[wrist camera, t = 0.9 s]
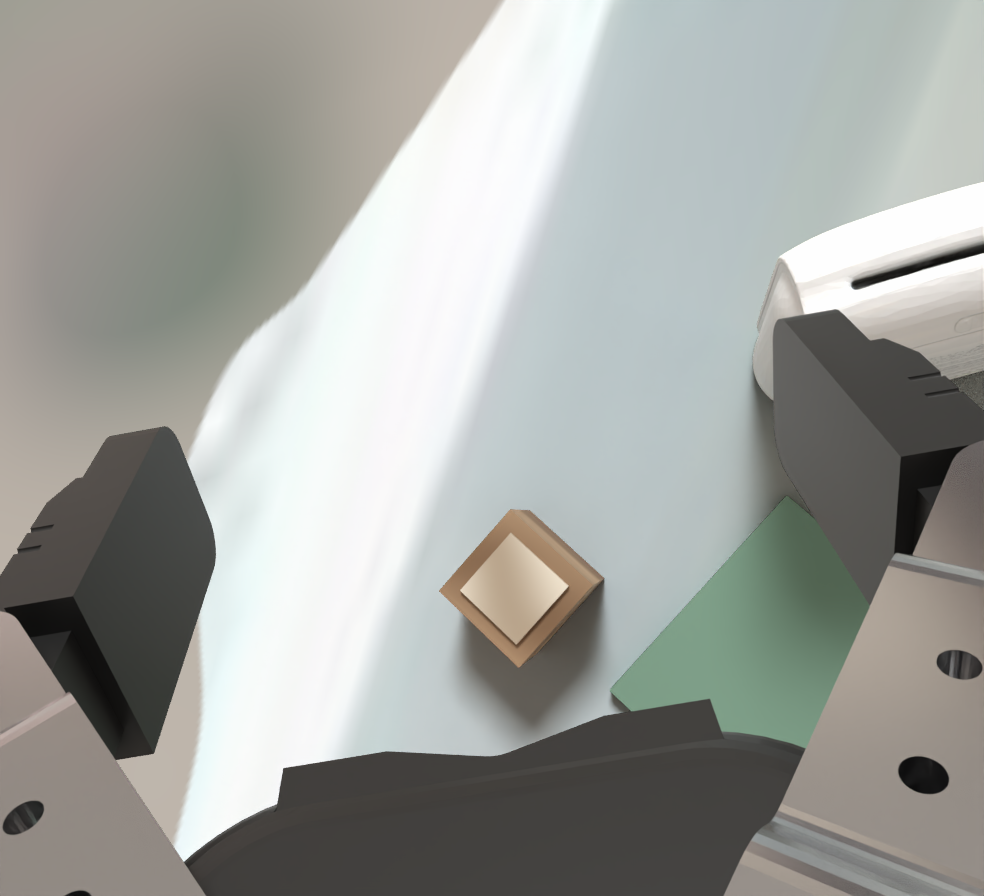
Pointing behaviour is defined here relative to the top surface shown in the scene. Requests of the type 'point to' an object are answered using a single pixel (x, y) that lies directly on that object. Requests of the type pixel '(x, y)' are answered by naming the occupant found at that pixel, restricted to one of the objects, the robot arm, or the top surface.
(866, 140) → the top surface
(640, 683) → the green mat
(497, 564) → the letter block
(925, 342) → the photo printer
